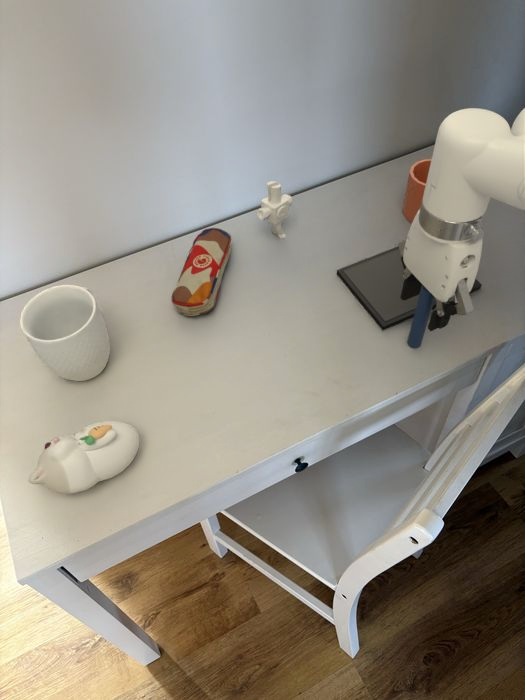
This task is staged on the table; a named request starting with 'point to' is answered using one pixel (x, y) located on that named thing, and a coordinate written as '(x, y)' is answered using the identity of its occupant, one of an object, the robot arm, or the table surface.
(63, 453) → the cat figurine
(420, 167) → the pen cup
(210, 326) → the table surface
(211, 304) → the pencil case
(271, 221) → the toy robot
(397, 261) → the tablet
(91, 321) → the mug
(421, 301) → the stylus
